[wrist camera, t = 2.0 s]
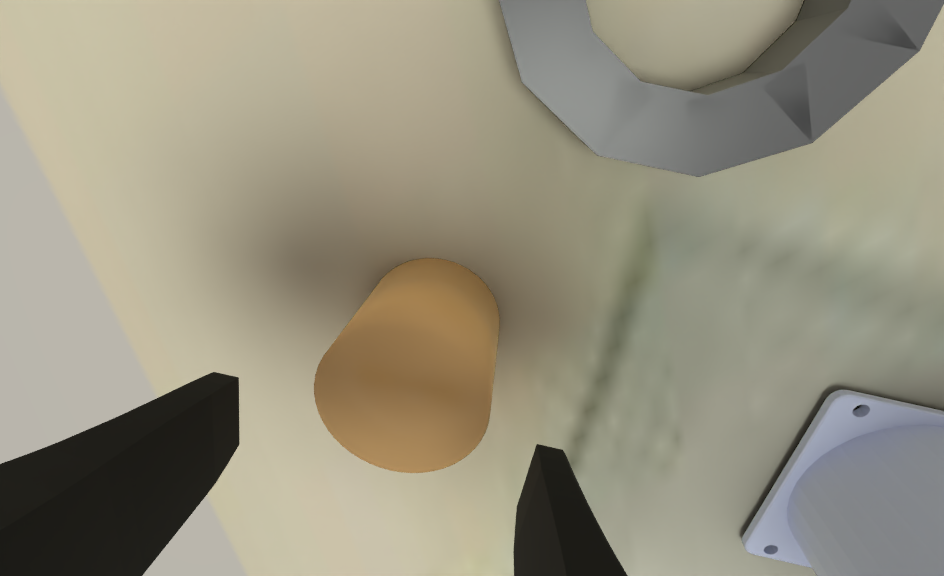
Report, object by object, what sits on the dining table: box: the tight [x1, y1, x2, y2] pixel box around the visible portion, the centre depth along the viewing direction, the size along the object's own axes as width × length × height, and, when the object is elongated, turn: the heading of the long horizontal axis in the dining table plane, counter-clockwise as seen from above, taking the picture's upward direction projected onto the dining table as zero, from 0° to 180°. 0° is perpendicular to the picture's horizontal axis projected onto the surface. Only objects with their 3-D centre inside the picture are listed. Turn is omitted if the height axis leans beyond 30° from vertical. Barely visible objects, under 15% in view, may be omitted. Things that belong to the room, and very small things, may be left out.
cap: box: [314, 258, 500, 473], centre depth 15 cm, size 5×5×5 cm
